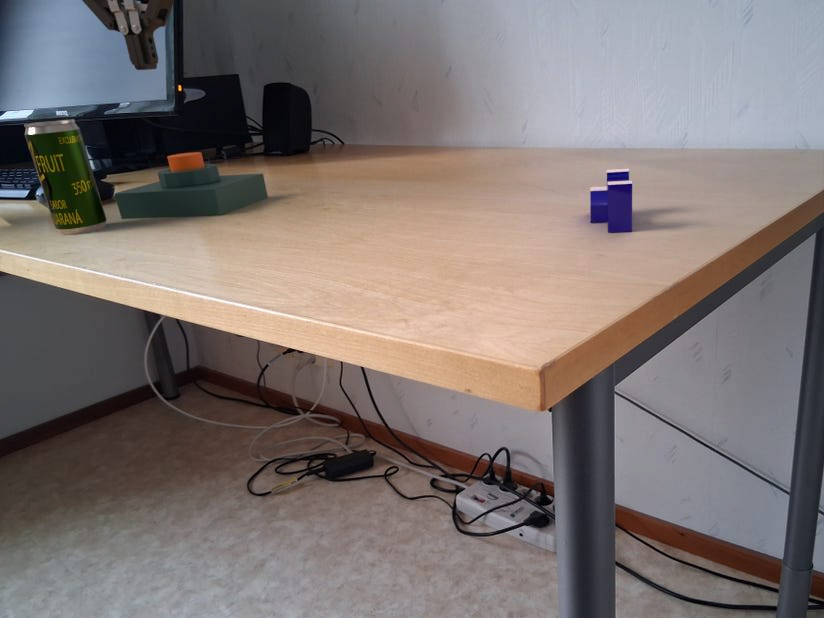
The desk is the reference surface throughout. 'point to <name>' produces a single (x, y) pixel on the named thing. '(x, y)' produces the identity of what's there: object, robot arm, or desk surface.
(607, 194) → the cable holder
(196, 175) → the button base
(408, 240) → the desk surface
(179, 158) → the orange push button
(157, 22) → the robot arm
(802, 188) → the desk surface
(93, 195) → the soda can
